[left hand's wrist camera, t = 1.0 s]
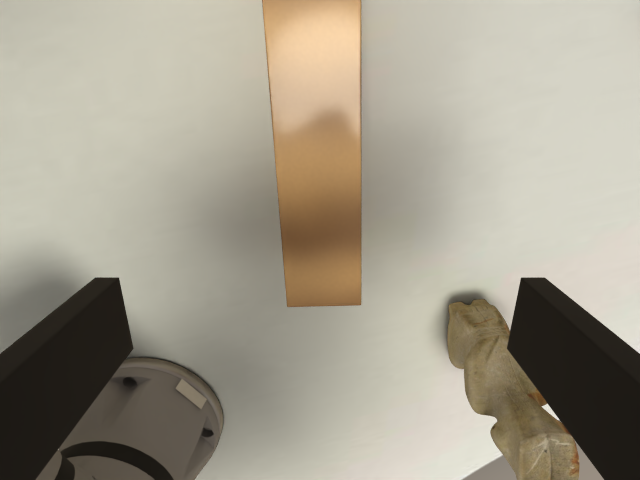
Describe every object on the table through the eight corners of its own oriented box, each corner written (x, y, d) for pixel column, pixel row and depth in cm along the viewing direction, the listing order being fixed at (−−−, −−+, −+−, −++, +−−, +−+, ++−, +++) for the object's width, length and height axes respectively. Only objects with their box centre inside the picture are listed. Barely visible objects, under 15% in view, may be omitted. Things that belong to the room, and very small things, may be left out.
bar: (354, 256, 35) (361, 305, 27) (296, 258, 35) (287, 307, 27) (350, -119, 25) (361, -217, 17) (271, -114, 25) (245, -209, 17)
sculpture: (436, 356, 38) (498, 508, 24) (435, 293, 36) (504, 423, 22) (496, 351, 38) (593, 503, 24) (499, 287, 35) (611, 415, 21)
